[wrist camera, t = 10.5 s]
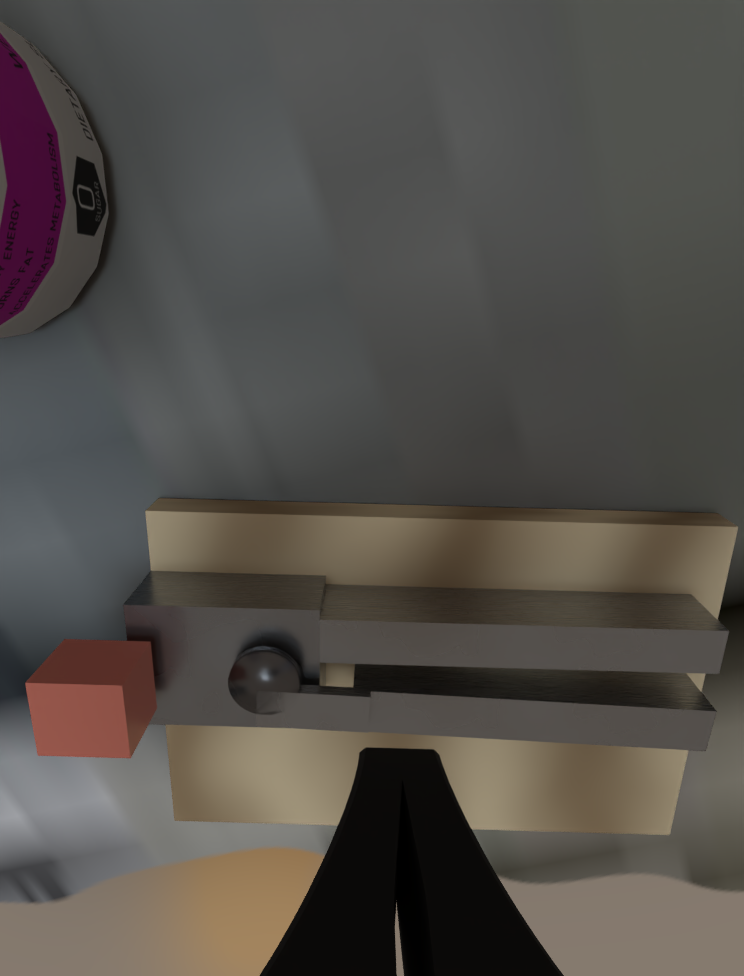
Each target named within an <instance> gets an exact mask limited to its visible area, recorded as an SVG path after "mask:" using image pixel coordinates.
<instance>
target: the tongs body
mask: <svg viewBox="0 0 744 976" xmlns="http://www.w3.org/2000/svg"><path fill="white" fill-rule="evenodd" d="M123 606H124V615H125V624H126V633H127V641H148V642H151V651H152V661H153V671H154V681H155V692H156V702H157V709H156V711H155V713H154V715H153V717H152V719H151V721H150V722H149V724H158V725H194V726H229V727H259V726H256V714H254V713H251V712H249V711H247V710H245V709H243V708H242V707H241V706H239V705H238V704H237V703H236V702H235V701H234V699H233V698H232V696H231V694H230V692H229V688H228V677H229V674H230V671H231V669H232V666H233V663H234V662H235V660H236V659H237V657H238V656H239V655H240V654H241V653H243V652H244V651H246V650H248V649H250V648H253V647H257V646H271V647H275V648H278V649H281V650H283V651H285V652H286V653H288V654H289V655H290V656H291V657H292V658H293V659H294V660H295V661H296V663H297V664H298V666H299V669H300V672H301V685H319V686H326V663H345V664H380V665H416V666H452V667H488V668H523V669H559V670H595V671H631V672H666V673H702V674H719V672H720V668H721V664H722V659H723V655H724V651H725V646H726V642H727V638H728V633H729V631H728V630H727V629H726V628H725V627H724V626H723V625H722V624H721V623H720V622H719V621H718V620H717V619H716V618H715V617H714V616H713V615H712V614H711V613H710V612H709V611H708V610H707V609H706V608H705V607H704V606H703V605H702V604H701V603H700V602H699V601H698V600H697V599H696V598H695V597H694V596H693V595H692V594H665V593H629V592H593V591H556V590H520V589H484V588H447V587H411V586H375V585H339V584H326V576H325V575H289V574H253V573H216V572H180V571H150V573H149V574H148V575H147V576H146V578H145V579H144V580H143V581H142V583H141V584H140V585H139V586H138V587H137V589H136V590H135V591H134V592H133V594H132V595H131V596H130V597H129V599H128V600H127V601H126V602H125V603H124V605H123ZM264 728H277V727H264Z"/></svg>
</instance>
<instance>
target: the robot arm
mask: <svg viewBox="0 0 744 976" xmlns="http://www.w3.org/2000/svg"><path fill="white" fill-rule="evenodd" d="M396 901H397V911H398V919H399V920H398V921H399V930H400V940H401V950H402V960H403V969H404V976H564V975H563V974H562V973H561V971H560V970H559V969H558V967H557V966H556V965H555V963H554V962H553V961H552V959H551V958H550V956H549V955H548V954H547V952H546V951H545V949H544V948H543V946H542V945H541V944H540V942H539V941H538V939H537V938H536V936H535V935H534V933H533V932H532V930H531V929H530V928H529V926H528V925H527V923H526V921H525V920H524V918H523V917H522V915H521V914H520V912H519V911H518V909H517V908H516V906H515V904H514V903H513V901H512V900H511V898H510V896H509V895H508V893H507V891H506V890H505V888H504V886H503V885H502V883H501V881H500V880H499V878H498V877H497V875H496V873H495V871H494V870H493V868H492V866H491V864H490V863H489V861H488V859H487V857H486V855H485V854H484V852H483V850H482V848H481V846H480V844H479V842H478V841H477V839H476V837H475V835H474V833H473V831H472V829H471V827H470V825H469V823H468V821H467V819H466V817H465V815H464V813H463V811H462V809H461V807H460V805H459V803H458V801H457V798H456V796H455V794H454V792H453V790H452V787H451V785H450V783H449V780H448V778H447V775H446V773H445V770H444V767H443V764H442V761H441V758H440V755H439V754H438V753H437V752H436V751H435V750H434V749H408V748H373V747H366V748H364V749H363V750H362V751H361V752H359V760H358V766H357V770H356V774H355V778H354V782H353V785H352V788H351V792H350V795H349V797H348V800H347V803H346V806H345V809H344V812H343V814H342V817H341V819H340V822H339V824H338V827H337V829H336V832H335V834H334V837H333V839H332V842H331V844H330V846H329V849H328V851H327V853H326V855H325V857H324V859H323V862H322V864H321V866H320V868H319V870H318V872H317V874H316V876H315V878H314V880H313V882H312V885H311V886H310V888H309V891H308V893H307V894H306V896H305V898H304V900H303V902H302V904H301V906H300V908H299V910H298V912H297V913H296V915H295V917H294V919H293V921H292V923H291V924H290V926H289V928H288V930H287V931H286V933H285V935H284V937H283V938H282V940H281V942H280V943H279V945H278V947H277V948H276V950H275V952H274V953H273V955H272V957H271V959H270V960H269V961H268V963H267V965H266V966H265V968H264V969H263V971H262V973H261V974H260V976H397V975H396V950H395V914H396Z"/></svg>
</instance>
